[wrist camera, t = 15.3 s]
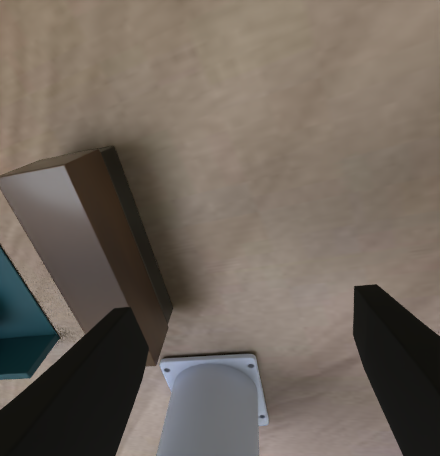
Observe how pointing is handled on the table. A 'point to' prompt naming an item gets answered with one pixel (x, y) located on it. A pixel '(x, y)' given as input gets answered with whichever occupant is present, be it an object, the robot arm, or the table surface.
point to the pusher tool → (21, 326)
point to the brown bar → (91, 239)
